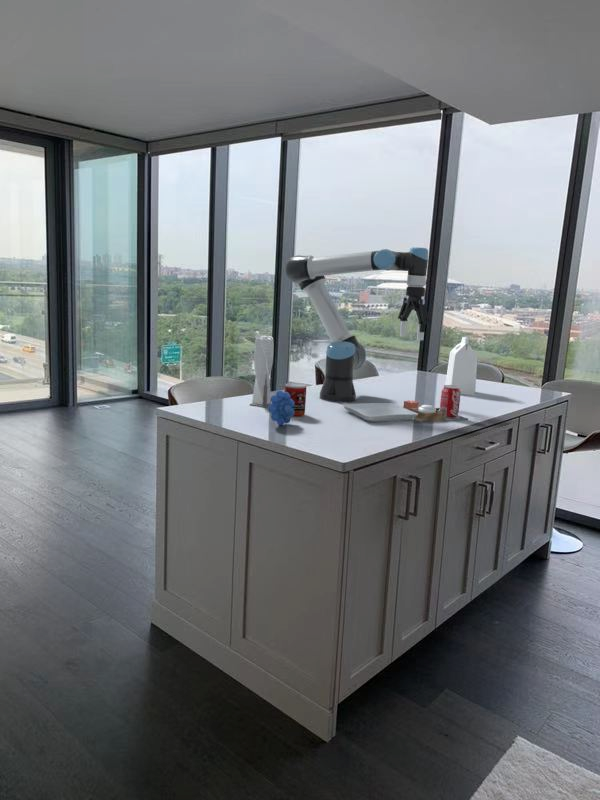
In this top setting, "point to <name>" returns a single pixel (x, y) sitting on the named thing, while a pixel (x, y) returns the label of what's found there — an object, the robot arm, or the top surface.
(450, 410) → the soda can
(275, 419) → the grapes
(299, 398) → the canned food
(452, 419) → the track
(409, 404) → the die
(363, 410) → the salad plate
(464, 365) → the milk
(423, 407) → the dome
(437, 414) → the base
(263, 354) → the skyscraper
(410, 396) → the top surface
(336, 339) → the robot arm
